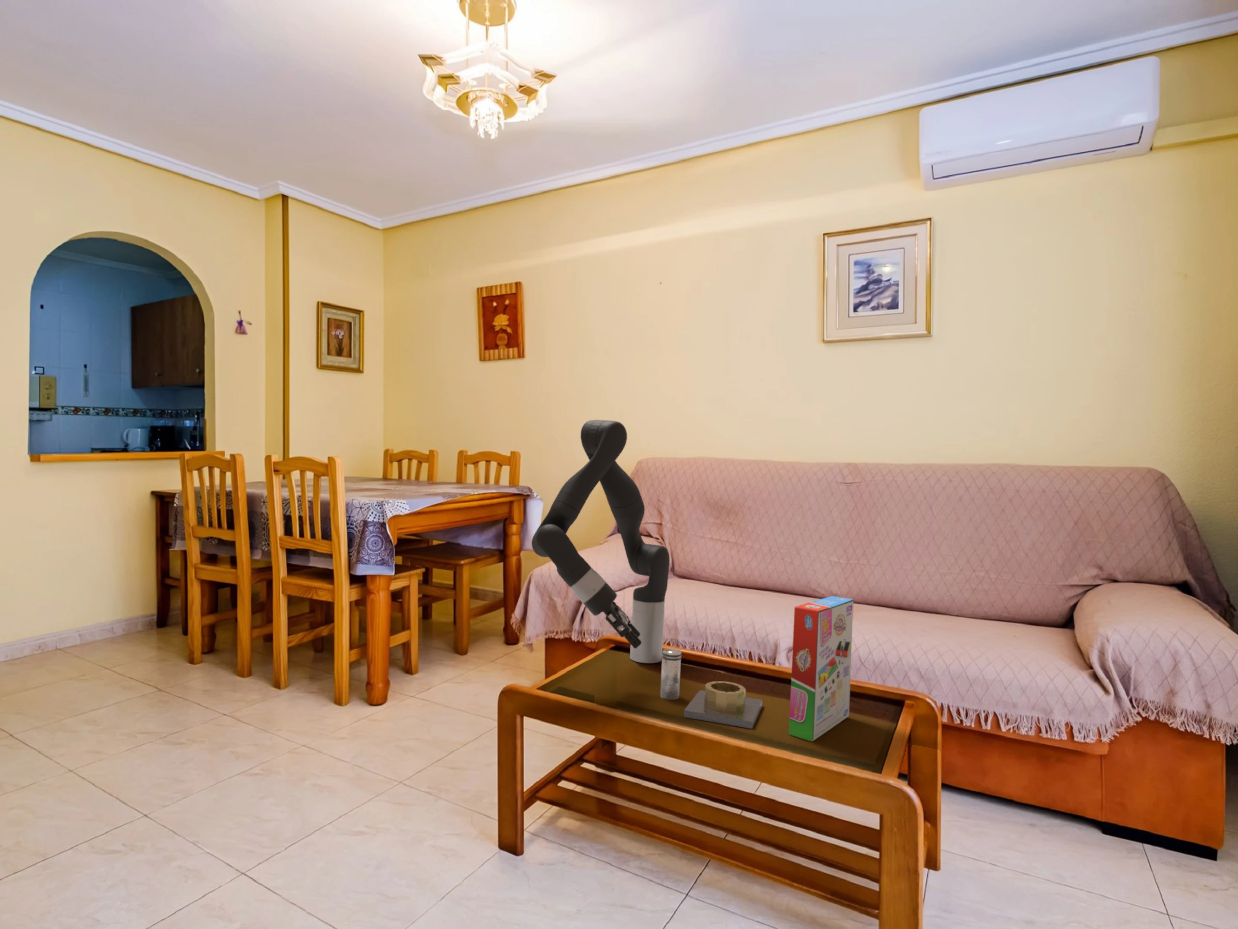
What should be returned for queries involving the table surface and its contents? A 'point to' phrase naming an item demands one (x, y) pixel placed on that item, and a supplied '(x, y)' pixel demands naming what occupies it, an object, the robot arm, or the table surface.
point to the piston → (670, 674)
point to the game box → (820, 666)
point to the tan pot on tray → (724, 705)
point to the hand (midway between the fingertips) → (638, 641)
